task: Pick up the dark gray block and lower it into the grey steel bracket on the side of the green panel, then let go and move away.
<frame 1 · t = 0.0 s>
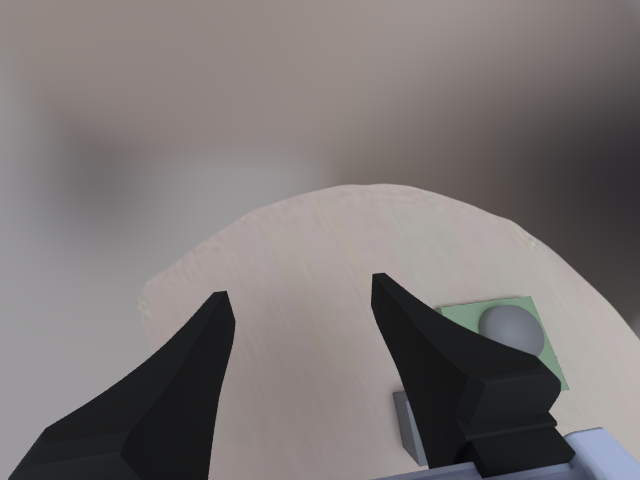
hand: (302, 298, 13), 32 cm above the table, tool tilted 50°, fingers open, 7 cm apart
green panel: (493, 352, 42), on the table
dark gray block: (410, 417, 39), on the table
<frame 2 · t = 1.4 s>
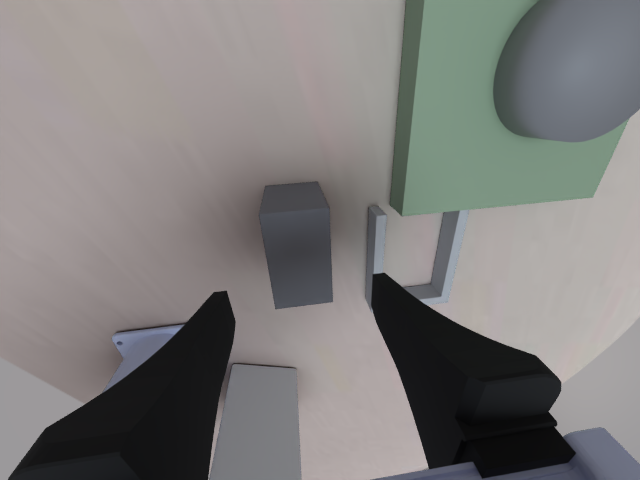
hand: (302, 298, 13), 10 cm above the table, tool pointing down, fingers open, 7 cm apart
green panel: (497, 120, 19), on the table
milk carton: (260, 383, 30), on the table
dark gray block: (296, 224, 21), on the table
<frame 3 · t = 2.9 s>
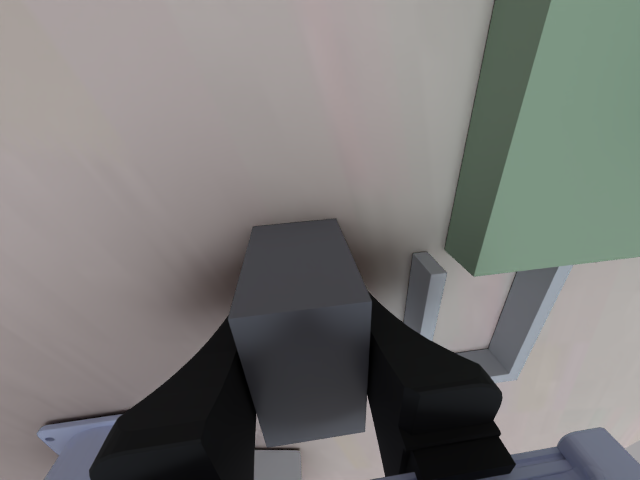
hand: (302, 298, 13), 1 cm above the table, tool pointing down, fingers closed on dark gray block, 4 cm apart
green panel: (631, 120, 12), on the table
milk carton: (252, 465, 23), on the table
dark gray block: (301, 280, 14), on the table, touching gripper
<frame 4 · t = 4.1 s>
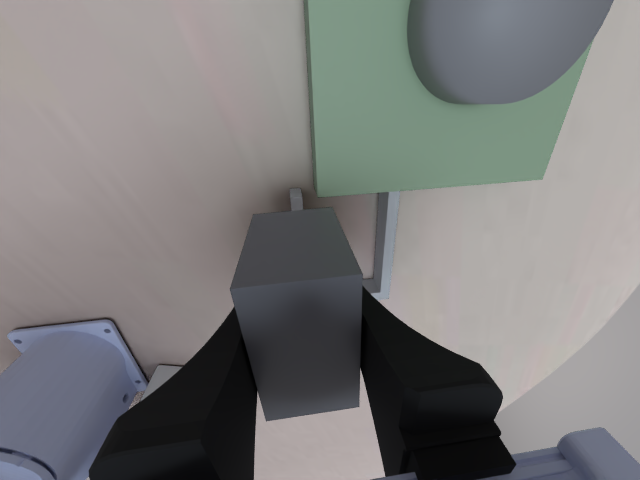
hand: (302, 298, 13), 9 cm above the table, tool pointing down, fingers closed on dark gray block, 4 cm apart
green panel: (430, 88, 17), on the table
milk carton: (194, 386, 28), on the table
dark gray block: (299, 268, 15), point 6 cm above the table, touching gripper
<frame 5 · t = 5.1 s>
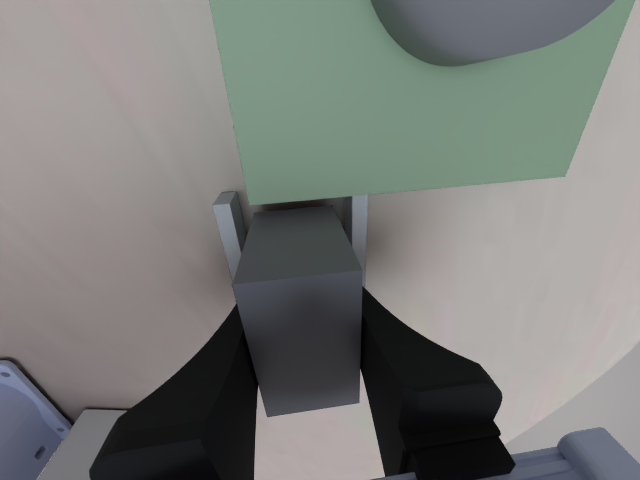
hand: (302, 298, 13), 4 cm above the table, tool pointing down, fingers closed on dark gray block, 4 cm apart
green panel: (406, 49, 12), on the table
milk carton: (136, 429, 23), on the table
dark gray block: (300, 266, 15), point 2 cm above the table, touching gripper
when the fingers open (3 cm above the table, at t = 5.8 s): dark gray block stays where it is, resting in green panel.
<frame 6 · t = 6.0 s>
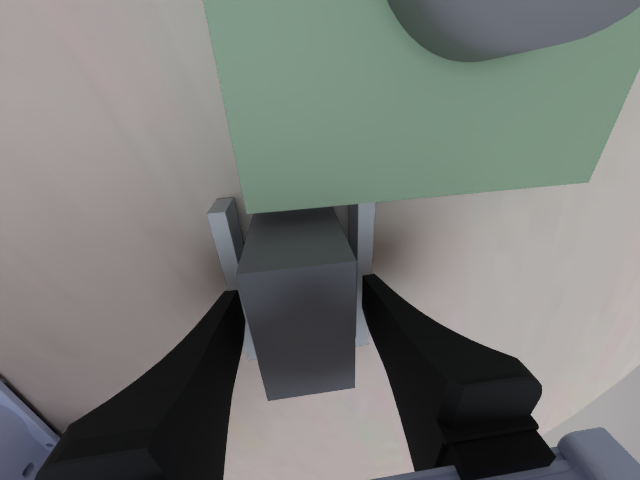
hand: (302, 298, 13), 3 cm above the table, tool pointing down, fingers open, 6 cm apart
green panel: (418, 43, 11), on the table
dark gray block: (298, 260, 15), resting in green panel
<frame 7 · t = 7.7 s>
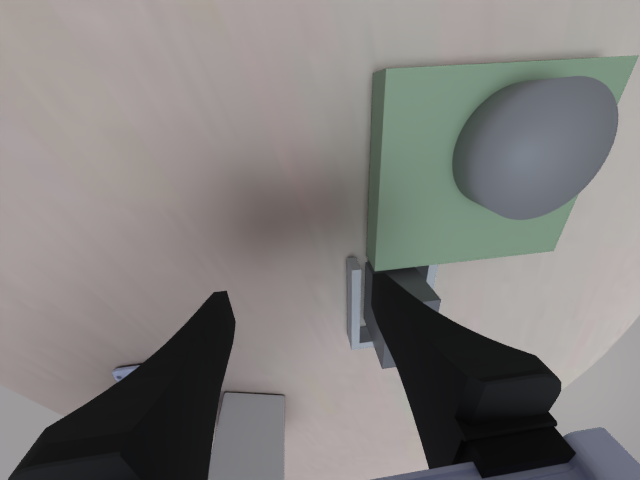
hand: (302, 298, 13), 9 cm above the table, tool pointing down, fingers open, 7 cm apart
green panel: (463, 183, 21), on the table
milk carton: (251, 408, 32), on the table
dark gray block: (384, 289, 26), resting in green panel
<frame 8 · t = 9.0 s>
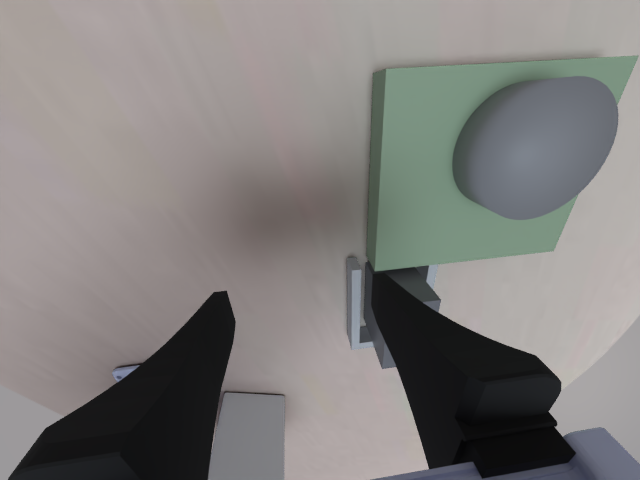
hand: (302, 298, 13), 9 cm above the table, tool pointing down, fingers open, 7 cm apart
green panel: (463, 183, 21), on the table
milk carton: (251, 408, 32), on the table
dark gray block: (384, 289, 26), resting in green panel
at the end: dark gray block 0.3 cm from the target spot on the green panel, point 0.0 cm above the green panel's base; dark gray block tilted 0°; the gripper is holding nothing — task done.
